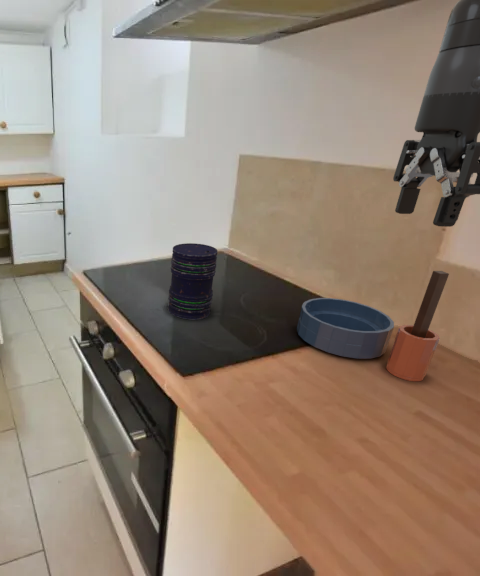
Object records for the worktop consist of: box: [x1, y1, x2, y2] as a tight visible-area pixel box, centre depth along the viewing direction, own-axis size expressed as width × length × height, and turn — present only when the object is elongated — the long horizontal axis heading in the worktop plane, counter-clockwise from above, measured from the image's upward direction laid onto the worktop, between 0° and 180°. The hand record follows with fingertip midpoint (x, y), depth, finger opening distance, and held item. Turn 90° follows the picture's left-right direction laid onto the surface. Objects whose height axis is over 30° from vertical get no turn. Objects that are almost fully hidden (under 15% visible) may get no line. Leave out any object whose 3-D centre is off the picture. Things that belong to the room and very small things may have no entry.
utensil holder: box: [385, 324, 441, 382], centre depth 64 cm, size 5×5×8 cm
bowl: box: [296, 297, 395, 360], centre depth 75 cm, size 15×15×6 cm
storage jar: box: [167, 242, 219, 321], centre depth 86 cm, size 10×10×15 cm
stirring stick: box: [411, 270, 450, 338], centre depth 62 cm, size 3×1×18 cm, turn 90°
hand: (421, 219), depth 54 cm, fingers open, 8 cm apart
